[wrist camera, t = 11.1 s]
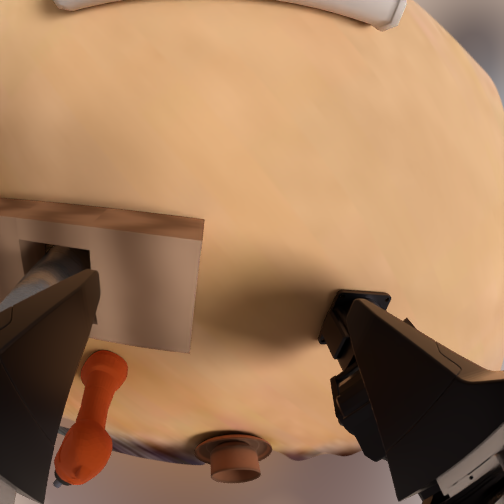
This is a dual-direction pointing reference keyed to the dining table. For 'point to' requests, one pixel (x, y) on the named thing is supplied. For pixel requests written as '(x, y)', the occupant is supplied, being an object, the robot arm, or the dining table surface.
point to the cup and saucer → (233, 457)
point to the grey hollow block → (114, 265)
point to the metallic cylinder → (48, 272)
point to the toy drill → (90, 421)
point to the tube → (344, 3)
